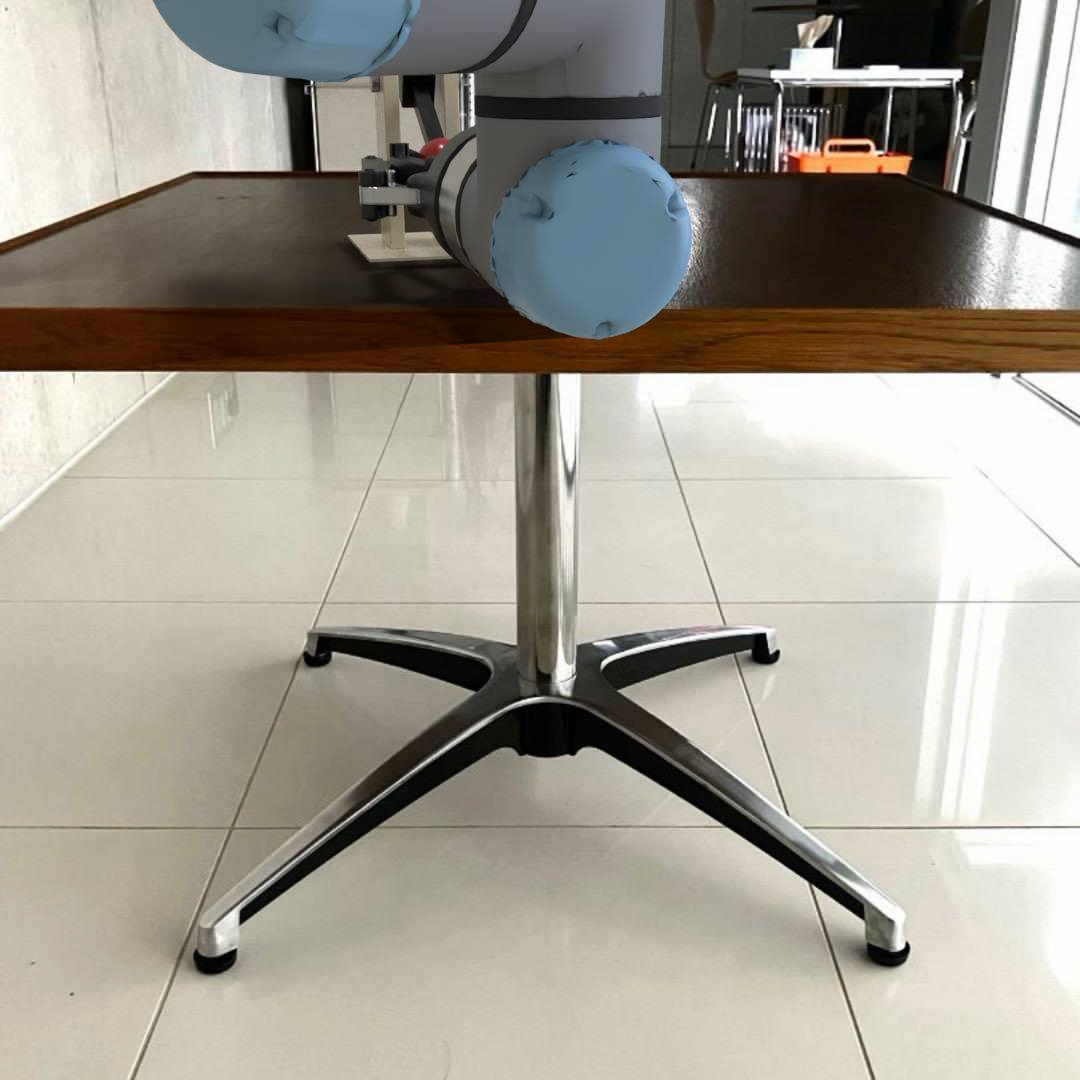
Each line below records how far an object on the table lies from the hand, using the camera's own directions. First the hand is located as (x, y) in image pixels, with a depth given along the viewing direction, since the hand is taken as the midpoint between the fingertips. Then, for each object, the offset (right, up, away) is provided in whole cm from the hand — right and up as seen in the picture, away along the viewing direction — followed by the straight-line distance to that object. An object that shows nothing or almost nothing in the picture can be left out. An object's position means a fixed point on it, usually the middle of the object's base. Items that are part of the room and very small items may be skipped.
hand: (426, 166), depth 81 cm
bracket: (-1, -5, +5) cm, 8 cm away
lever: (0, +1, -1) cm, 2 cm away
